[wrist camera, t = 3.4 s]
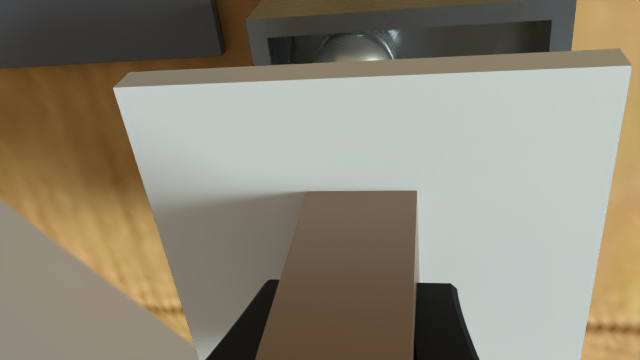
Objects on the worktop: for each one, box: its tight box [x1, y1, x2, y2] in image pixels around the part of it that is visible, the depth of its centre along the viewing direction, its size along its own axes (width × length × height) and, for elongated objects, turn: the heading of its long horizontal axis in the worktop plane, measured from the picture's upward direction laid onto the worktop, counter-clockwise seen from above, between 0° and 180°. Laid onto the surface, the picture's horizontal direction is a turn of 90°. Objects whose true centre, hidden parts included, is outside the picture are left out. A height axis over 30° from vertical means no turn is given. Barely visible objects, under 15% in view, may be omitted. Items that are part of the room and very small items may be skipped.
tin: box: [245, 0, 577, 66], centre depth 18 cm, size 8×8×4 cm
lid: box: [113, 49, 632, 360], centre depth 11 cm, size 8×8×5 cm
